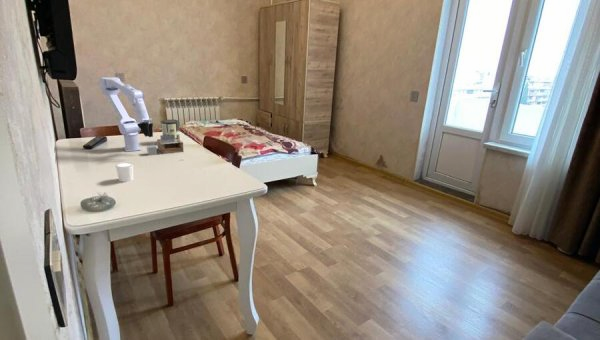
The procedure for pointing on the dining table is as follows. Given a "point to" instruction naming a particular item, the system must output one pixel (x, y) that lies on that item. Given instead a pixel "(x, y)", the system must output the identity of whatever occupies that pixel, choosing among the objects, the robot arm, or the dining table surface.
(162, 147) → the frame
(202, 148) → the dining table surface
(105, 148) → the dining table surface
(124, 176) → the white cup
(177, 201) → the dining table surface
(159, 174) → the dining table surface
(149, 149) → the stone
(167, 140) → the trapdoor
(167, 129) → the coffee can
